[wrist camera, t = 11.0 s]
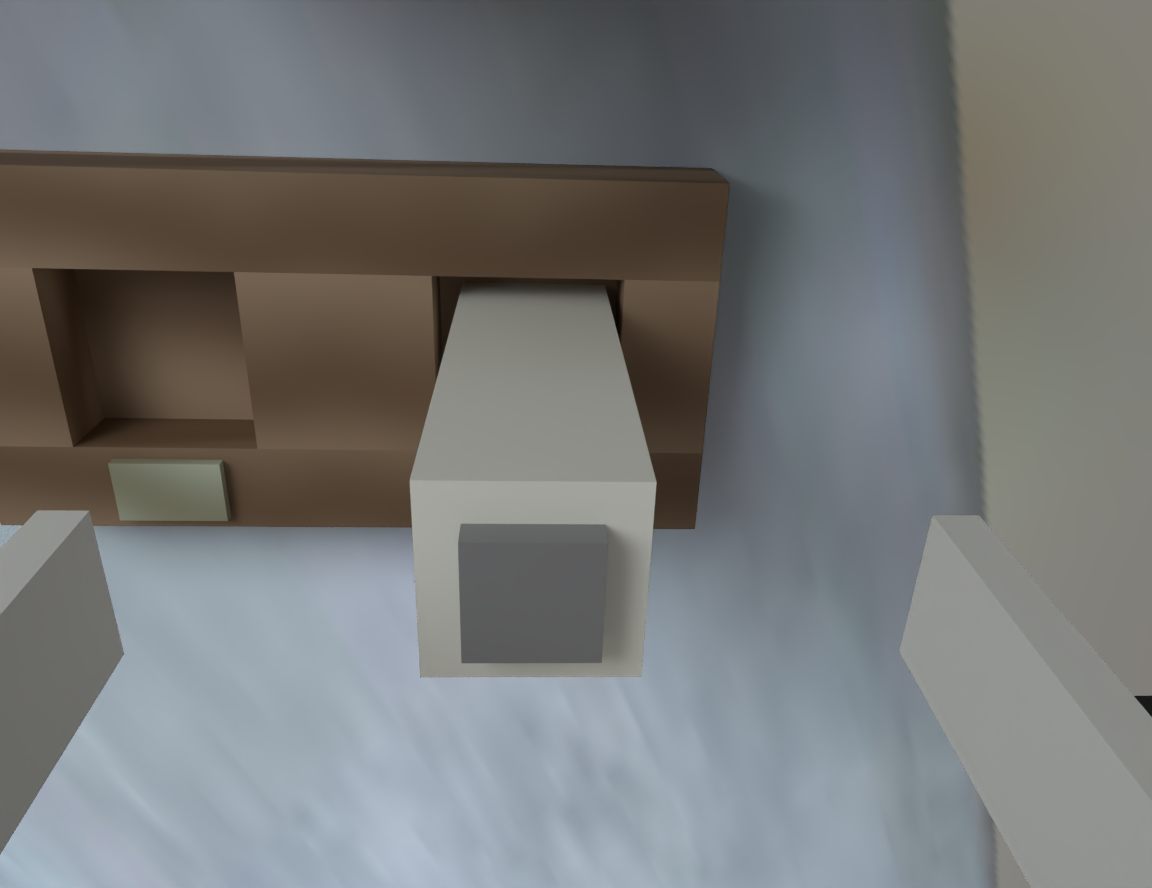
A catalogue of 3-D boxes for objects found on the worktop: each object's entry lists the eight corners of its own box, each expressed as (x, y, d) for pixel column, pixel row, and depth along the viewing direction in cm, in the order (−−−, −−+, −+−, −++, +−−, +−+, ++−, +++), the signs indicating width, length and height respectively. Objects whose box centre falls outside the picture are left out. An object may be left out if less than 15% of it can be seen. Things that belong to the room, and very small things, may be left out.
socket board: (-40, 148, 24) (-108, 164, 21) (711, 168, 25) (731, 185, 22) (44, 484, 28) (-5, 530, 25) (682, 489, 29) (696, 534, 26)
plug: (462, 281, 25) (404, 498, 14) (604, 284, 26) (661, 499, 14) (466, 412, 27) (416, 700, 16) (598, 414, 27) (645, 699, 16)
